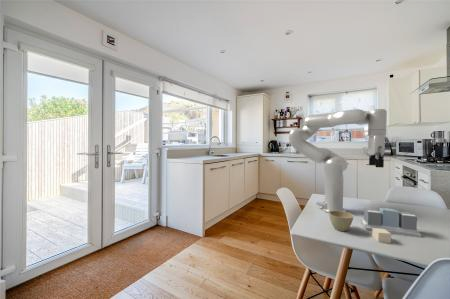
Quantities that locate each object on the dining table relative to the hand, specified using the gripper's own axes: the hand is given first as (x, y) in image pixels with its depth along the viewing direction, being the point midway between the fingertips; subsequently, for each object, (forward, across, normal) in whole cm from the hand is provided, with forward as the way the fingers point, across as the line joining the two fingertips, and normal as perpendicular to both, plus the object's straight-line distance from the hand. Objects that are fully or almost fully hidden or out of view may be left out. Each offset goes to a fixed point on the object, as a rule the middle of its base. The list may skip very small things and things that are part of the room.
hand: (375, 166), depth 105 cm
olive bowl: (+28, +19, -19) cm, 39 cm away
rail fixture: (+28, +12, +2) cm, 31 cm away
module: (+26, +12, +2) cm, 29 cm away
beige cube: (+28, +25, -5) cm, 38 cm away
